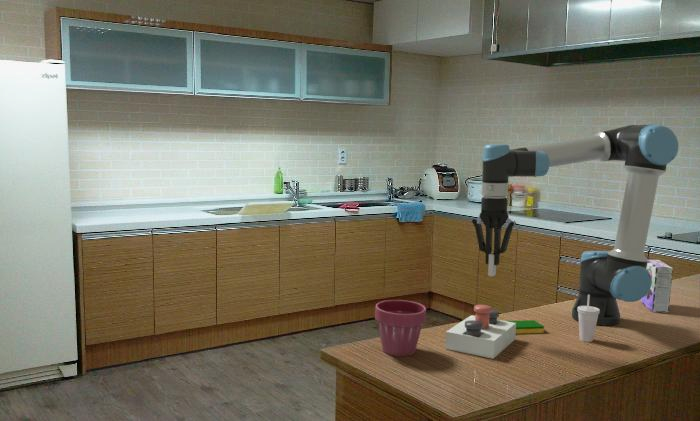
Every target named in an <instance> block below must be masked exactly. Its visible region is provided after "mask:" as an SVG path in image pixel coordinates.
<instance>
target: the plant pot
mask: <svg viewBox="0 0 700 421" xmlns="http://www.w3.org/2000/svg"><path fill="white" fill-rule="evenodd" d="M374 308H375V310H374V319H375V321H377V323H378V330H379V336H380V342H381V348H382V352H384V353H385V354H386V355H390V356H393V355H394V356H395V357H407V356H406V355H409V356H412V355H414V354H415V353H416V351H417V350H416V349H417V346H418V343H419V338H420V335H421V330H422V327H423V324H425V323H426V319H427V308H426V306H425V305H423V304H422V303H419V302H415V301H411V300H403V299H389V300H382V301H379V302H377V303H376V304H375V307H374ZM413 353H414V354H413ZM411 354H412V355H411Z"/></svg>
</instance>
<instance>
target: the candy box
mask: <svg viewBox="0 0 700 421" xmlns="http://www.w3.org/2000/svg"><path fill="white" fill-rule="evenodd" d="M647 260H648V263H647V268H646V269H647V270H648V272H649V274H650V275H651V278H652V284H651V288H650V290H649V292H648V293H647V294H646V295H645V296H644V297H642V298H641V299H640V303H641V304H642V305H643V304H644V306H645V308H647V309H648V308H649V309H650V310H651V311H650V310H649V309H648V310H649V311H650V312H651V313H657V312H669V311H670V301H671V300H670V299H671V293H672V284H673V283H672V280H673V272H674V270H673V269H674V268H673V267H672V266H670V265H668V264H666V263H665V262H663V261H661V260H660V259H648V258H647ZM669 313H670V312H669Z"/></svg>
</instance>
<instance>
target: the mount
mask: <svg viewBox="0 0 700 421" xmlns="http://www.w3.org/2000/svg"><path fill="white" fill-rule="evenodd" d="M469 320H474V321H475V315H472V314H471V315H470V316H468V317H466V318H465V319H463V320H462V321H460V322H458V323H457V324H455V325H454V326H452V327H451V328H450V329H449V328H448V330H446V331H445V346H444V348H445V350H449V351H454V352H458V353H463V354H469V355H474V356H478V357H482V358H483V357H484V358H487V359H492V360H493V359H495V358H496V357H497V356H498V355H499V354H501V353H502V352H503V351H504V350H505V349H506V348H508V346H510V345H511V344H512V343H513V342H514V341H515V340H516V323H513V322H507V321H508V320H502V319H501V320H500V319H497V324H496V325H493V324H489V329H481V336H480V337H474V336H469V335H466V328H465V321H469Z"/></svg>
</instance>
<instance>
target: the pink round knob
mask: <svg viewBox="0 0 700 421" xmlns="http://www.w3.org/2000/svg"><path fill="white" fill-rule="evenodd" d="M492 310H493V309H492V306H491V305H488V304H487V305H486V304H476V305H473V312H475V315H474V316H475V321H480V322H482V323H483V329H489V318H490V313H491V312H492Z"/></svg>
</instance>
